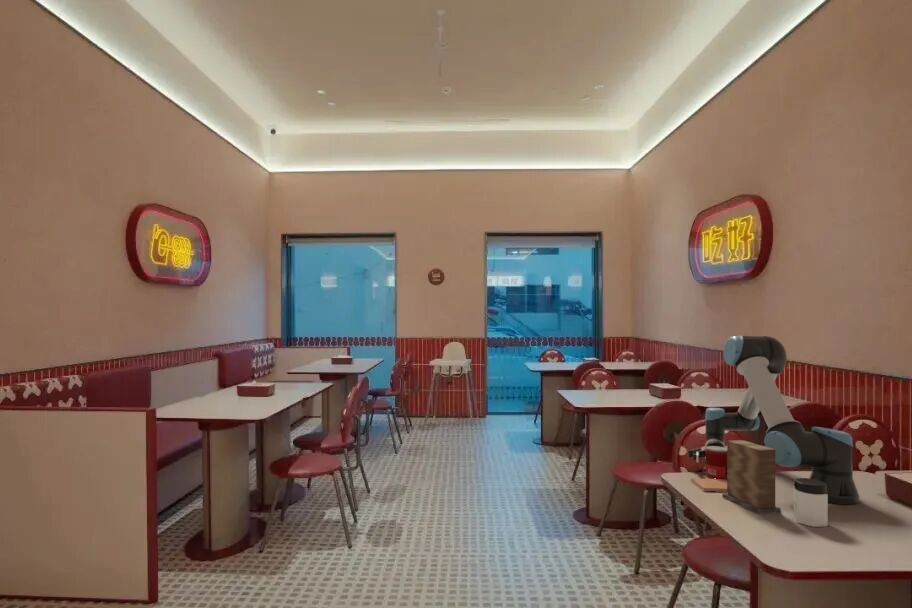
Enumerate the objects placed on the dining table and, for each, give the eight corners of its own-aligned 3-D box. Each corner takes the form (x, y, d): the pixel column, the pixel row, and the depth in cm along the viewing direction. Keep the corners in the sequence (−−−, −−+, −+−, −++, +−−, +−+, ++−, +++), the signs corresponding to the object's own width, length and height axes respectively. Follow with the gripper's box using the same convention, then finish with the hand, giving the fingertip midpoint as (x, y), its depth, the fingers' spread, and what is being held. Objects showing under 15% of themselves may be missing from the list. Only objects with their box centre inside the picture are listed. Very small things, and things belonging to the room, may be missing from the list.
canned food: (731, 480, 208) (731, 451, 209) (708, 479, 210) (708, 449, 210) (725, 475, 216) (725, 446, 216) (703, 473, 217) (703, 445, 218)
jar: (791, 515, 172) (791, 476, 172) (822, 519, 169) (822, 479, 169) (797, 525, 163) (797, 483, 164) (830, 529, 160) (830, 487, 161)
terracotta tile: (724, 482, 206) (724, 479, 206) (738, 492, 194) (738, 489, 194) (691, 481, 206) (691, 478, 206) (703, 491, 194) (703, 487, 194)
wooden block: (722, 497, 188) (722, 440, 189) (742, 495, 190) (742, 439, 191) (759, 513, 173) (759, 451, 173) (780, 511, 175) (780, 450, 175)
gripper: (749, 462, 226) (753, 475, 207) (682, 455, 236) (681, 466, 217) (749, 443, 226) (753, 454, 207) (683, 437, 236) (681, 447, 217)
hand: (716, 461), depth 212 cm, fingers open, 13 cm apart
